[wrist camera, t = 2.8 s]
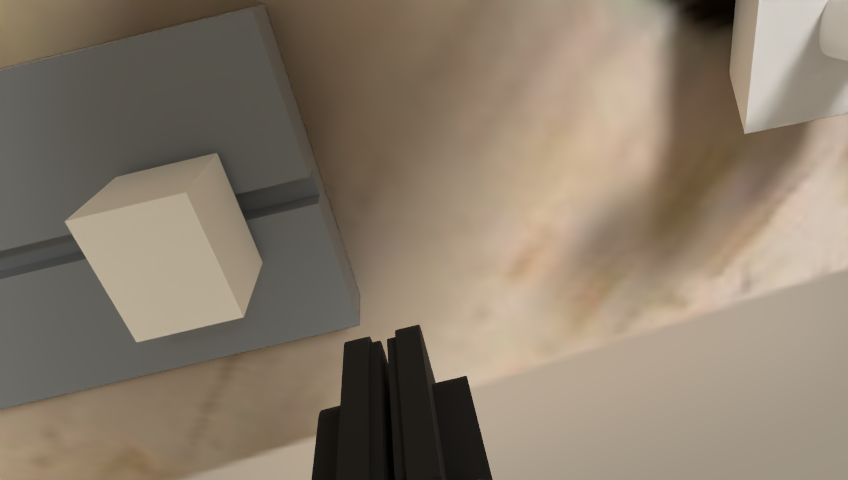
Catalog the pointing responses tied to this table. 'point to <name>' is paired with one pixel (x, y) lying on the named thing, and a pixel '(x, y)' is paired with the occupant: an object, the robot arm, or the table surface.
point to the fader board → (144, 149)
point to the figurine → (789, 61)
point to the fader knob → (170, 247)
